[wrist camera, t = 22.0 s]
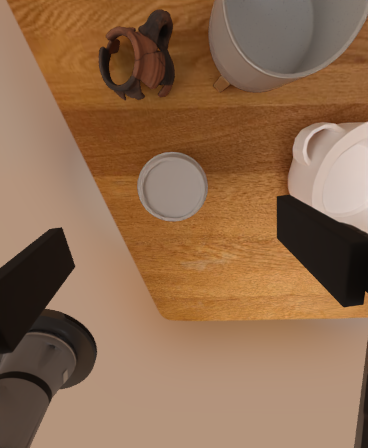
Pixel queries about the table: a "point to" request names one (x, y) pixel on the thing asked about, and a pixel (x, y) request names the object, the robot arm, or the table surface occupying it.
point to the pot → (332, 171)
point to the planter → (279, 39)
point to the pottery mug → (143, 56)
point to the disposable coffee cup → (172, 186)
